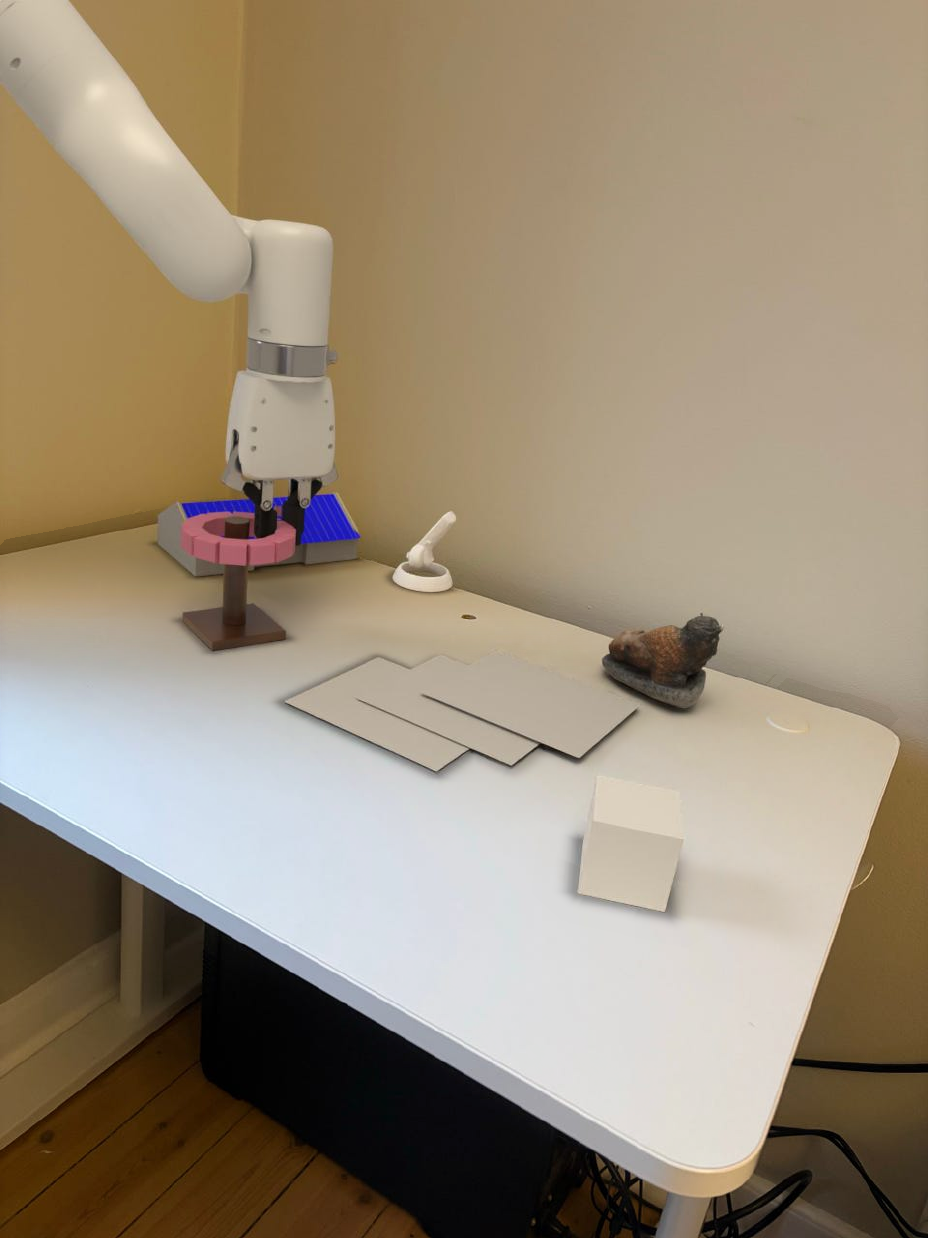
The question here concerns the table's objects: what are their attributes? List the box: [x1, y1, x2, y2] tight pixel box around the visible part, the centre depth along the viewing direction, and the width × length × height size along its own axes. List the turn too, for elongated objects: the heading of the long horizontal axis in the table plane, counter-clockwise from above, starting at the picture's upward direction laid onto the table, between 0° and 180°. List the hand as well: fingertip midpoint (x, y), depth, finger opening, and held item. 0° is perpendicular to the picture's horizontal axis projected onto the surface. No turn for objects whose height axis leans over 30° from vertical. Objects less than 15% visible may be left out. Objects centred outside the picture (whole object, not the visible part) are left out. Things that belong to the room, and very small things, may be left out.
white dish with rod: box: [392, 510, 457, 593], centre depth 114 cm, size 8×12×7 cm
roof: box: [156, 491, 361, 578], centre depth 118 cm, size 22×14×7 cm, turn 127°
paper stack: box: [284, 650, 642, 772], centre depth 86 cm, size 23×25×1 cm
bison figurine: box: [601, 612, 725, 709], centre depth 93 cm, size 12×7×10 cm, turn 41°
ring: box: [181, 512, 296, 566], centre depth 92 cm, size 11×11×2 cm
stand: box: [181, 516, 287, 652], centre depth 94 cm, size 8×8×12 cm
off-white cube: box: [577, 774, 685, 913], centre depth 64 cm, size 6×6×6 cm
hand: (278, 541), depth 95 cm, fingers closed on ring, 2 cm apart
